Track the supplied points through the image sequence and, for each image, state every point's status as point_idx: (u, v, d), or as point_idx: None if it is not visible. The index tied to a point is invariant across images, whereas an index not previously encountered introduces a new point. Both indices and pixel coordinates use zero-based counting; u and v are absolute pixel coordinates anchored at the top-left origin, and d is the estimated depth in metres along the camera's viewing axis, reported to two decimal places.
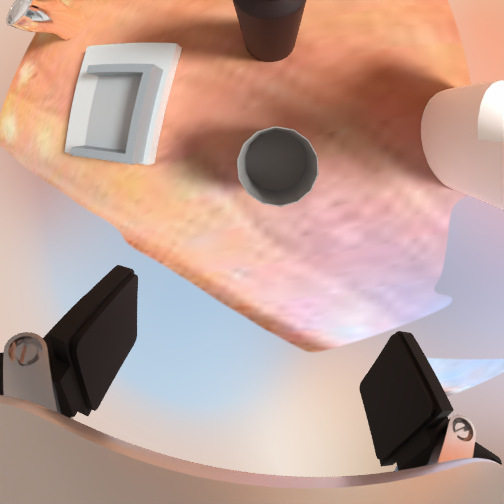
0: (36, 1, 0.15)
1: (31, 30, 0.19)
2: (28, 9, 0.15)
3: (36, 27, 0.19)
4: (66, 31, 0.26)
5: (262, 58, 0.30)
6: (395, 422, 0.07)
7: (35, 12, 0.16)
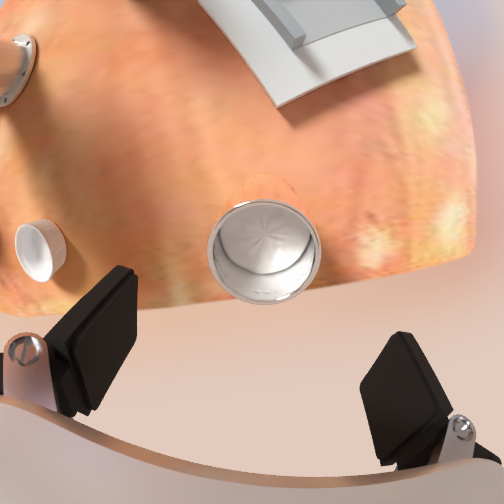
0: (233, 203, 0.16)
1: None
2: (258, 197, 0.15)
3: (294, 192, 0.19)
4: (278, 182, 0.26)
5: None
6: (395, 422, 0.07)
7: (261, 192, 0.16)
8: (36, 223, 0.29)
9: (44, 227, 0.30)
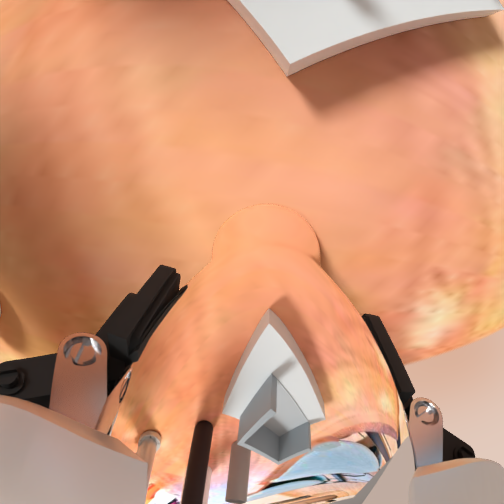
0: None
1: (383, 356, 0.06)
2: None
3: (358, 327, 0.05)
4: (291, 229, 0.12)
5: None
6: None
7: (228, 425, 0.03)
8: None
9: None
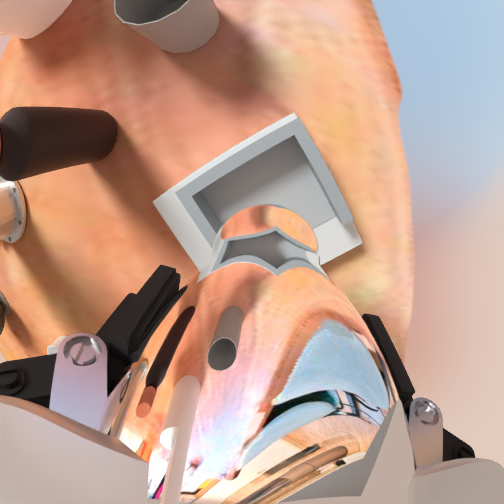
0: None
1: (383, 356, 0.06)
2: None
3: (358, 327, 0.05)
4: (291, 229, 0.12)
5: (108, 119, 0.27)
6: None
7: (227, 427, 0.03)
8: None
9: None
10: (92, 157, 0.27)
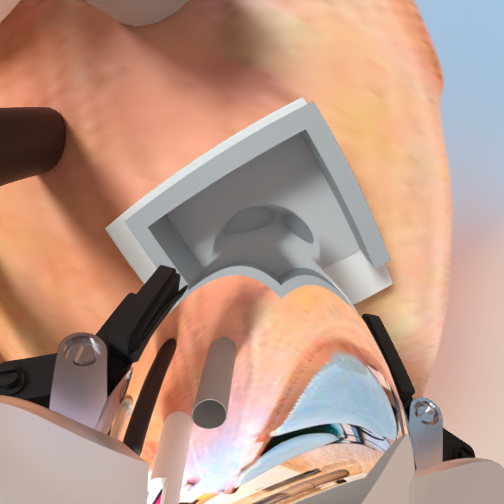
0: None
1: (383, 357, 0.06)
2: None
3: (358, 327, 0.05)
4: (291, 229, 0.12)
5: (53, 119, 0.18)
6: None
7: (228, 427, 0.03)
8: None
9: None
10: (32, 170, 0.17)
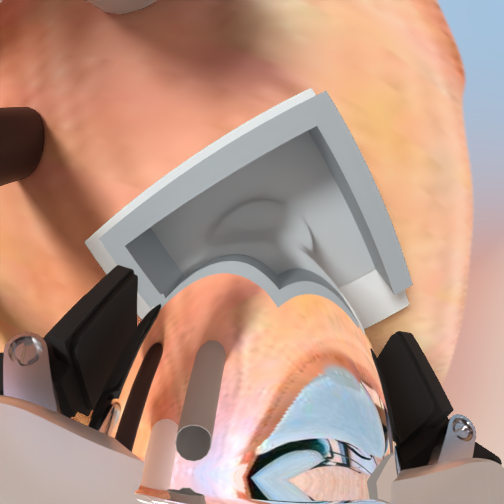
0: None
1: (365, 334, 0.06)
2: (186, 490, 0.02)
3: (339, 303, 0.06)
4: (284, 223, 0.13)
5: (30, 119, 0.15)
6: None
7: (219, 375, 0.04)
8: None
9: None
10: (7, 177, 0.14)
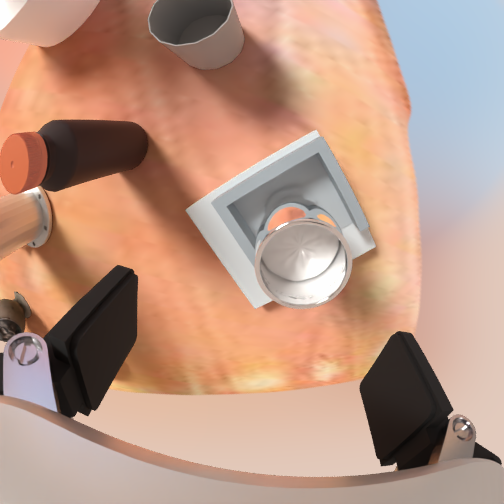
0: (278, 222, 0.18)
1: None
2: (301, 217, 0.17)
3: None
4: (304, 196, 0.28)
5: (140, 131, 0.30)
6: (395, 422, 0.07)
7: (300, 211, 0.19)
8: None
9: None
10: (126, 167, 0.30)
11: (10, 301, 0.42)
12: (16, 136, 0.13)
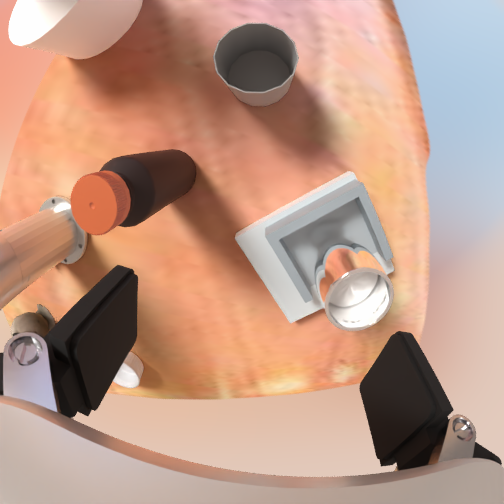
0: (344, 268, 0.23)
1: None
2: (362, 266, 0.22)
3: (370, 252, 0.26)
4: (344, 232, 0.33)
5: (190, 162, 0.35)
6: (395, 421, 0.07)
7: (357, 258, 0.24)
8: None
9: (128, 359, 0.48)
10: (178, 197, 0.34)
11: (35, 314, 0.45)
12: (97, 177, 0.18)
